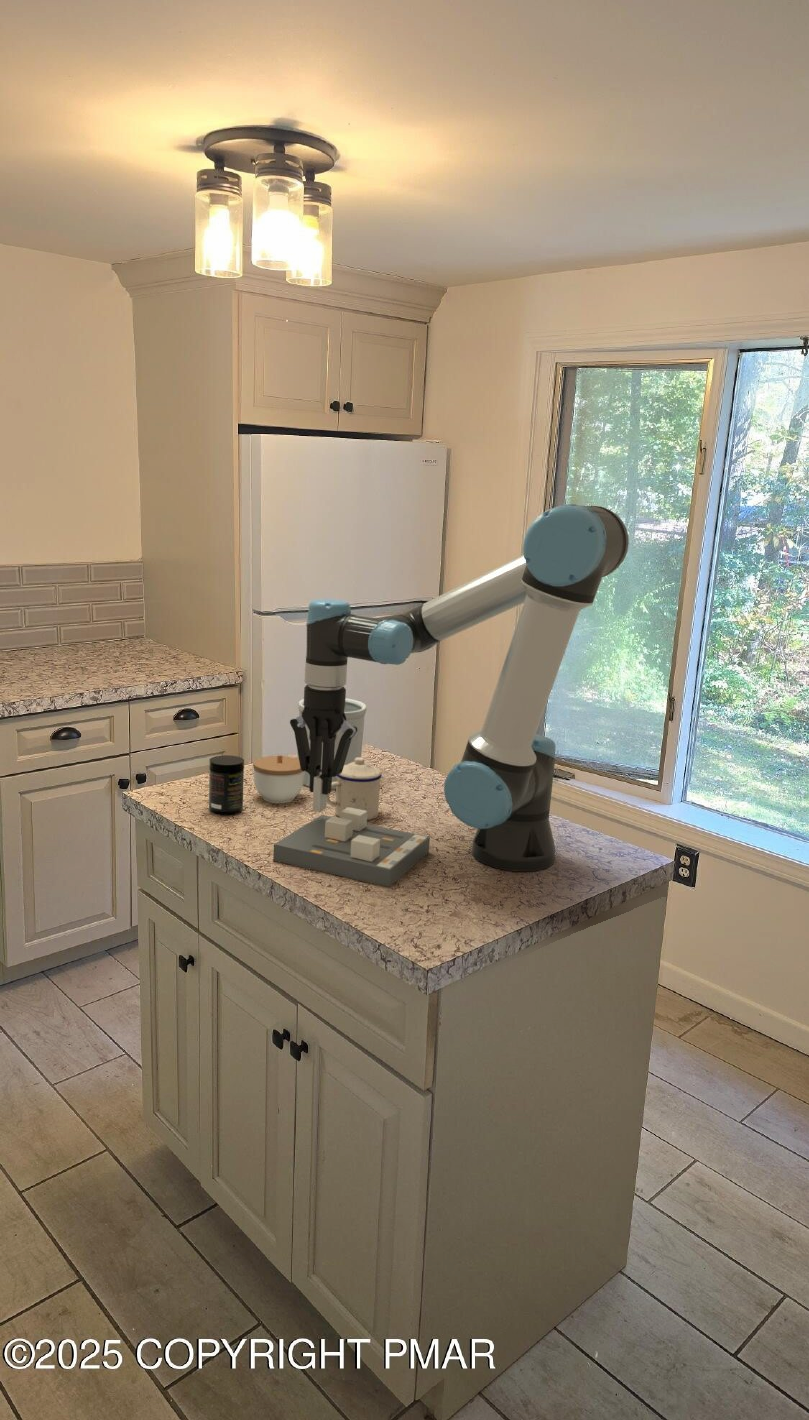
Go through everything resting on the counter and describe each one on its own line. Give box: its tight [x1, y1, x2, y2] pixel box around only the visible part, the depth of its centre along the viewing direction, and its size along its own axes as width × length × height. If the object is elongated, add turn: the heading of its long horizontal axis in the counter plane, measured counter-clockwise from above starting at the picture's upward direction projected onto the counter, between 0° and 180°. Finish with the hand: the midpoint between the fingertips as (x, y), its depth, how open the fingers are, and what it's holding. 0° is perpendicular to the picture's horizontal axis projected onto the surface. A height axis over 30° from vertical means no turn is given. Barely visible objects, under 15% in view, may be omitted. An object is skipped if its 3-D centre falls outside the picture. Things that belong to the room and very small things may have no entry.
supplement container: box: [208, 754, 245, 816], centre depth 192 cm, size 7×7×10 cm
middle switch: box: [325, 816, 353, 841], centre depth 174 cm, size 4×3×3 cm
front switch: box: [350, 835, 380, 862], centre depth 165 cm, size 4×3×3 cm
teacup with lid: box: [327, 756, 382, 821], centre depth 193 cm, size 12×9×12 cm
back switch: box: [339, 807, 368, 831], centre depth 179 cm, size 4×3×3 cm
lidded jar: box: [252, 754, 305, 805], centre depth 201 cm, size 11×11×9 cm
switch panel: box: [272, 814, 431, 888], centre depth 173 cm, size 22×18×3 cm
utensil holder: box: [296, 697, 367, 791], centre depth 214 cm, size 15×15×18 cm
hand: (319, 809), depth 181 cm, fingers closed
